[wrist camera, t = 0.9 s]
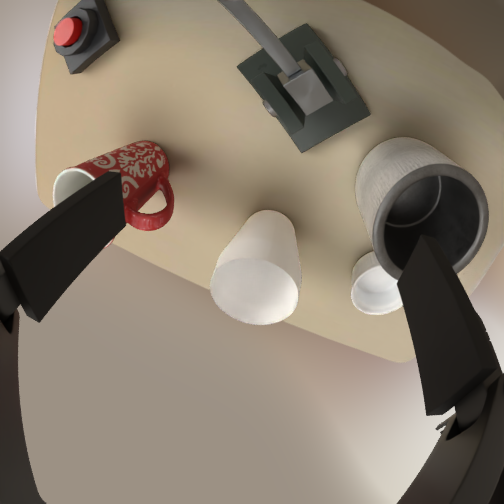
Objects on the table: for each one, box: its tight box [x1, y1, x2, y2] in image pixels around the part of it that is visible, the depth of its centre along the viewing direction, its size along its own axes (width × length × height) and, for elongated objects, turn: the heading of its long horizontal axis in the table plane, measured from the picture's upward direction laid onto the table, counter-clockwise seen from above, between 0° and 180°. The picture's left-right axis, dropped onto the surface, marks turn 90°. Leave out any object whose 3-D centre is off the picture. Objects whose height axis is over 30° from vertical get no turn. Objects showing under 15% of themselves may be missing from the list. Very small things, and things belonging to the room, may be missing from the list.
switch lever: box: [217, 0, 333, 116], centre depth 12 cm, size 14×5×2 cm, turn 37°
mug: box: [53, 141, 174, 249], centre depth 29 cm, size 13×9×14 cm
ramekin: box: [351, 251, 403, 315], centre depth 35 cm, size 9×9×4 cm
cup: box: [210, 210, 302, 325], centre depth 32 cm, size 9×9×12 cm
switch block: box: [54, 0, 120, 74], centre depth 22 cm, size 10×8×4 cm
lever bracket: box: [237, 23, 371, 153], centre depth 20 cm, size 12×9×14 cm
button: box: [54, 18, 83, 46], centre depth 20 cm, size 4×4×2 cm
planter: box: [355, 137, 489, 280], centre depth 25 cm, size 12×13×11 cm
